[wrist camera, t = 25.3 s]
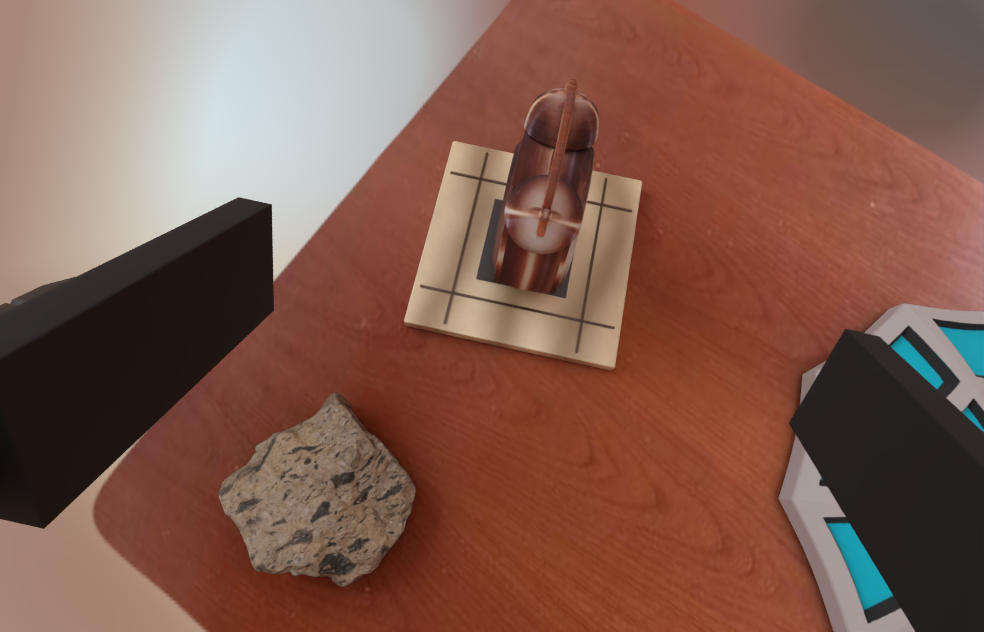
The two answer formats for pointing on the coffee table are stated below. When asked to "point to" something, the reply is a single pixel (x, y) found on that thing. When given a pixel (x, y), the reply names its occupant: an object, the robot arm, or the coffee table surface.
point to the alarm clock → (546, 192)
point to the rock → (320, 498)
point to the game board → (513, 312)
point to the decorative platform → (811, 506)
